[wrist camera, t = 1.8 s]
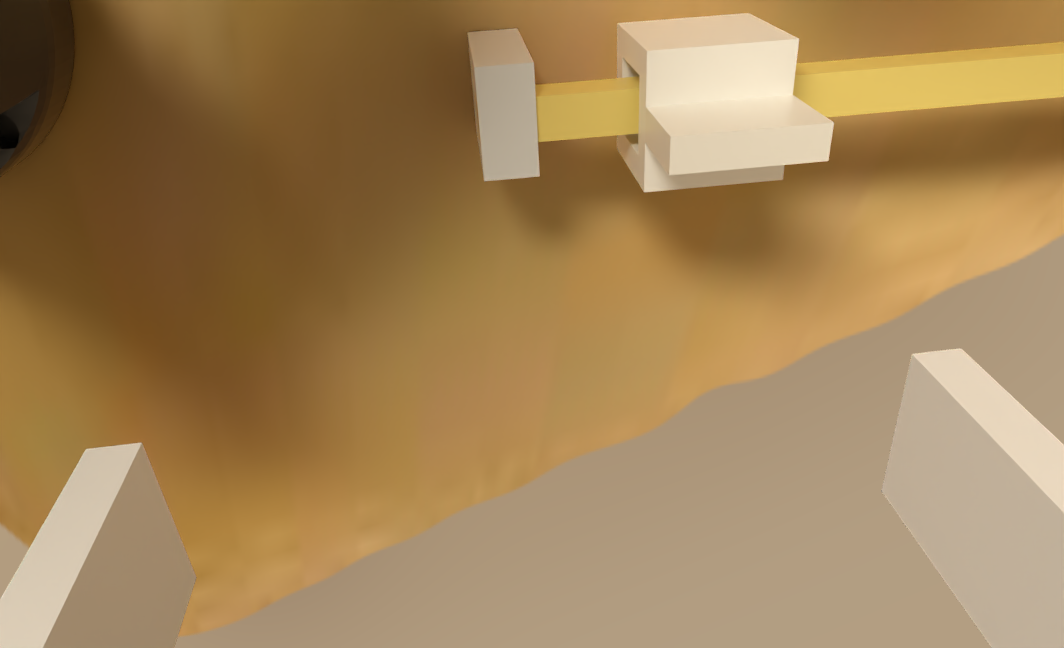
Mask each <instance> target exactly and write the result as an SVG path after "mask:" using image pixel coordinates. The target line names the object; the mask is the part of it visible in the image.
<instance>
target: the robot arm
mask: <svg viewBox="0 0 1064 648" xmlns="http://www.w3.org/2000/svg"><path fill="white" fill-rule="evenodd" d="M73 63H74V30H73V21H72V14H71V8H70V4H69V0H0V177H1V176H2V175H4V174H5V173H6V172H8V171H9V170H10V169H12V168H13V167H14V166H16V165H17V164H18V163H20V162H21V161H22V160H24V159H25V158H26V157H27V156H28V155H29V154H31V153H32V152H33V151H34V150H35V149H36V148H37V147H38V146H39V144H40V143H41V142H42V141H43V140H44V139H45V137H46V136H47V135H48V133H49V132H50V130H51V129H52V127H53V126H54V124H55V122H56V121H57V119H58V117H59V115H60V113H61V111H62V108H63V106H64V103H65V100H66V98H67V94H68V91H69V87H70V83H71V78H72V72H73ZM882 493H883V494H884V496H885V497H886V499H887V500H888V501H889V503H890V504H891V506H892V507H893V508H894V510H895V511H896V513H897V514H898V516H899V517H900V519H901V520H902V521H903V523H904V524H905V526H906V527H907V528H908V530H909V531H910V533H911V534H912V536H913V537H914V538H915V540H916V541H917V543H918V544H919V546H920V547H921V548H922V550H923V551H924V553H925V554H926V555H927V557H928V558H929V560H930V561H931V562H932V564H933V565H934V567H935V568H936V569H937V571H938V572H939V574H940V575H941V577H942V578H943V580H944V581H945V582H946V584H947V585H948V587H949V588H950V590H951V591H952V592H953V594H954V595H955V597H956V598H957V599H958V601H959V602H960V604H961V605H962V606H963V608H964V610H965V611H966V612H967V614H968V615H969V617H970V618H971V619H972V621H973V622H974V624H975V625H976V627H977V628H978V629H979V631H980V632H981V634H982V635H983V636H984V638H985V639H986V641H987V642H988V644H989V645H990V646H991V648H1064V445H1063V444H1062V443H1061V442H1060V441H1059V440H1058V439H1057V438H1056V437H1055V436H1054V435H1053V434H1052V433H1051V432H1050V431H1048V430H1047V429H1046V428H1045V427H1044V426H1043V425H1042V424H1041V423H1040V422H1039V421H1038V420H1037V419H1036V418H1035V417H1033V416H1032V415H1031V414H1030V413H1029V412H1028V411H1027V410H1026V409H1025V408H1024V407H1023V406H1022V405H1021V404H1020V403H1018V401H1017V400H1016V399H1014V398H1013V397H1012V396H1011V395H1010V394H1009V393H1008V392H1007V391H1006V390H1005V389H1004V388H1003V387H1002V386H1000V384H998V383H997V382H996V381H995V380H994V379H993V378H992V377H991V376H990V375H989V374H988V373H987V372H986V371H985V370H983V368H981V367H980V366H979V365H978V364H977V363H976V362H975V361H974V360H973V359H972V358H971V357H970V356H969V355H968V354H967V353H965V352H964V351H963V350H962V349H961V348H959V349H950V350H942V351H933V352H924V353H917V354H912V356H911V361H910V365H909V370H908V374H907V378H906V383H905V388H904V392H903V396H902V401H901V406H900V410H899V414H898V419H897V423H896V428H895V432H894V437H893V441H892V446H891V450H890V455H889V459H888V464H887V468H886V473H885V477H884V482H883V486H882ZM195 581H196V575H195V573H194V570H193V568H192V565H191V563H190V560H189V558H188V555H187V553H186V550H185V548H184V546H183V543H182V541H181V538H180V536H179V533H178V531H177V528H176V526H175V523H174V521H173V518H172V516H171V513H170V511H169V508H168V506H167V503H166V501H165V498H164V496H163V493H162V491H161V488H160V486H159V484H158V481H157V479H156V476H155V474H154V471H153V469H152V466H151V464H150V461H149V459H148V456H147V454H146V451H145V449H144V446H143V444H142V443H134V444H125V445H116V446H108V447H99V448H90V449H86V450H85V452H84V453H83V455H82V457H81V459H80V460H79V462H78V464H77V466H76V467H75V469H74V471H73V473H72V474H71V476H70V478H69V480H68V481H67V483H66V485H65V487H64V488H63V490H62V492H61V494H60V495H59V497H58V499H57V501H56V502H55V504H54V506H53V508H52V509H51V511H50V513H49V515H48V516H47V518H46V520H45V522H44V523H43V525H42V527H41V529H40V530H39V532H38V534H37V536H36V537H35V539H34V541H33V543H32V544H31V546H30V548H29V550H28V551H27V553H26V555H25V557H24V558H23V560H22V562H21V564H20V566H19V567H18V569H17V571H16V572H15V574H14V576H13V578H12V579H11V581H10V583H9V585H8V586H7V588H6V590H5V592H4V593H3V595H2V597H1V599H0V648H174V646H175V643H176V640H177V637H178V634H179V631H180V628H181V624H182V621H183V618H184V615H185V612H186V609H187V606H188V603H189V599H190V596H191V593H192V590H193V587H194V584H195Z"/></svg>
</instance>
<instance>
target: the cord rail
mask: <svg viewBox="0 0 1064 648" xmlns="http://www.w3.org/2000/svg"><path fill="white" fill-rule="evenodd" d="M467 35H468V46H469V57H470V68H471V79H472V90H473V101H474V112H475V123H476V133H477V139H478V145H479V152H480V158H481V164H482V170H483V177H484V181H494V180H505V179H517V178H528V177H539V176H540V173H539V153H538V142H546V141H557V140H569V139H581V138H592V137H604V136H615V135H627V134H639V76H637V77H625V78H613V79H600V80H588V81H576V82H564V83H551V84H539V85H535V73H534V62H533V59H532V57H531V55H530V53H529V51H528V49H527V47H526V45H525V43H524V41H523V39H522V37H521V35H520V33H519V31H518V28H514V29H501V30H488V31H475V32H467ZM793 95H794V96H795V97H797V98H798V99H800V100H801V101H803V102H804V103H806V104H807V105H809V106H810V107H812V108H813V109H815V110H816V111H818V112H819V113H820V114H822V115H823V116H825V117H836V116H848V115H859V114H871V113H882V112H894V111H906V110H917V109H929V108H940V107H952V106H964V105H975V104H987V103H998V102H1010V101H1022V100H1033V99H1045V98H1056V97H1064V42H1055V43H1043V44H1030V45H1018V46H1006V47H993V48H981V49H969V50H957V51H944V52H932V53H920V54H908V55H895V56H883V57H871V58H858V59H846V60H834V61H822V62H809V63H797V64H796V71H795V79H794V88H793Z"/></svg>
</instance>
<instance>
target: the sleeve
mask: <svg viewBox="0 0 1064 648" xmlns="http://www.w3.org/2000/svg"><path fill="white" fill-rule="evenodd" d="M798 45H799V38H797V37H795V36H793V35H791V34H789V33H787V32H785V31H783V30H781V29H779V28H777V27H775V26H773V25H771V24H769V23H767V22H765V21H763V20H761V19H759V18H757V17H755V16H754V15H752V14H750V13H742V14H729V15H716V16H703V17H690V18H677V19H664V20H651V21H638V22H625V23H617V78H625V77H637V76H639V134H627V135H617V150H618V151H619V153H620V155H621V156H622V158H623V159H624V161H625V163H626V164H627V166H628V167H629V169H630V171H631V172H632V174H633V175H634V177H635V179H636V180H637V182H638V184H639V185H640V187H641V188H642V190H643V192H654V191H665V190H676V189H687V188H698V187H709V186H720V185H731V184H742V183H753V182H764V181H775V180H783V175H784V166H785V165H789V164H801V163H812V162H823V161H829V154H830V147H831V140H832V133H833V126H834V122H832V121H831V120H829V119H828V118H826V117H825V116H823V115H822V114H820V113H819V112H818V111H816V110H815V109H813V108H812V107H810V106H809V105H807V104H806V103H804V102H803V101H801V100H800V99H798V98H797V97H795V96H794V95H793V88H794V79H795V71H796V62H797V53H798Z"/></svg>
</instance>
